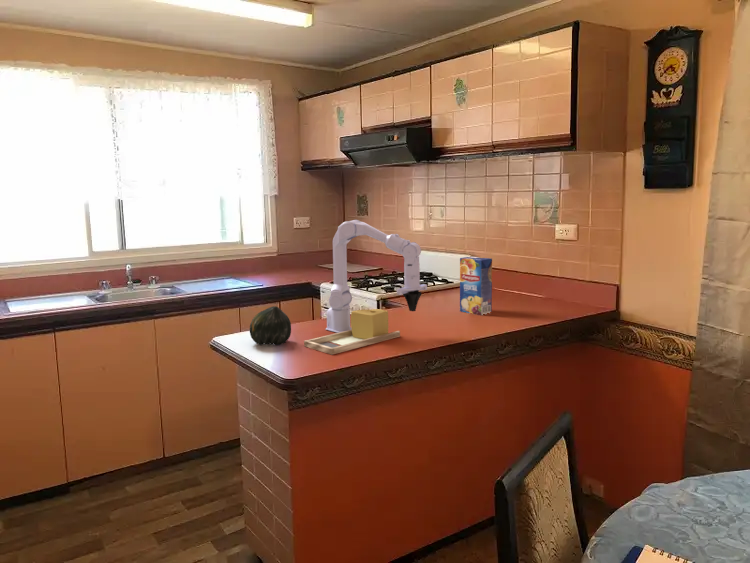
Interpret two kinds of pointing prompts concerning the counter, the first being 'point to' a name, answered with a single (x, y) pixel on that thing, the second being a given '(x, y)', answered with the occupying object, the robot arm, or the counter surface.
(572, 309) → the counter surface
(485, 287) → the juice carton
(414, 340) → the counter surface
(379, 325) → the cheese
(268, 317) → the squash
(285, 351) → the counter surface
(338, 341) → the pad
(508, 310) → the counter surface
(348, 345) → the lane rails
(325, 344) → the pad
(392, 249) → the robot arm
